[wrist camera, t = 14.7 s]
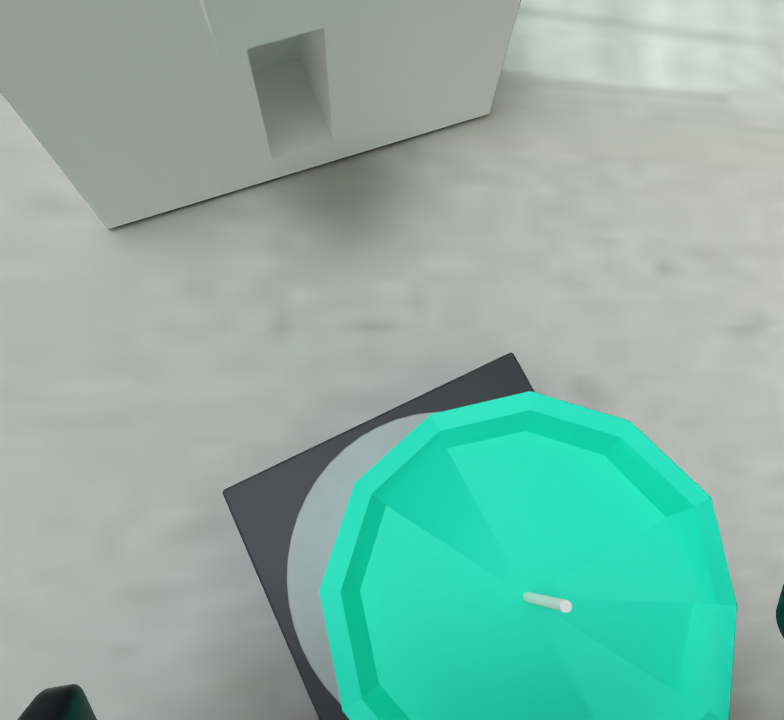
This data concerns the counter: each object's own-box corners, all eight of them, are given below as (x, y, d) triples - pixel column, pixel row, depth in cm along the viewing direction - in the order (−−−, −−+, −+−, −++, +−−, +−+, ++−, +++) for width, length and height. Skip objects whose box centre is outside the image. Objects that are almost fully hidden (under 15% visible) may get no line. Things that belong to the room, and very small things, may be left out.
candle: (336, 689, 19) (291, 897, 7) (348, 466, 21) (328, 350, 9) (556, 696, 19) (851, 912, 7) (550, 475, 21) (786, 372, 9)
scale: (520, 360, 25) (541, 333, 22) (670, 628, 23) (716, 639, 20) (235, 497, 23) (217, 488, 20) (366, 801, 21) (367, 842, 18)
